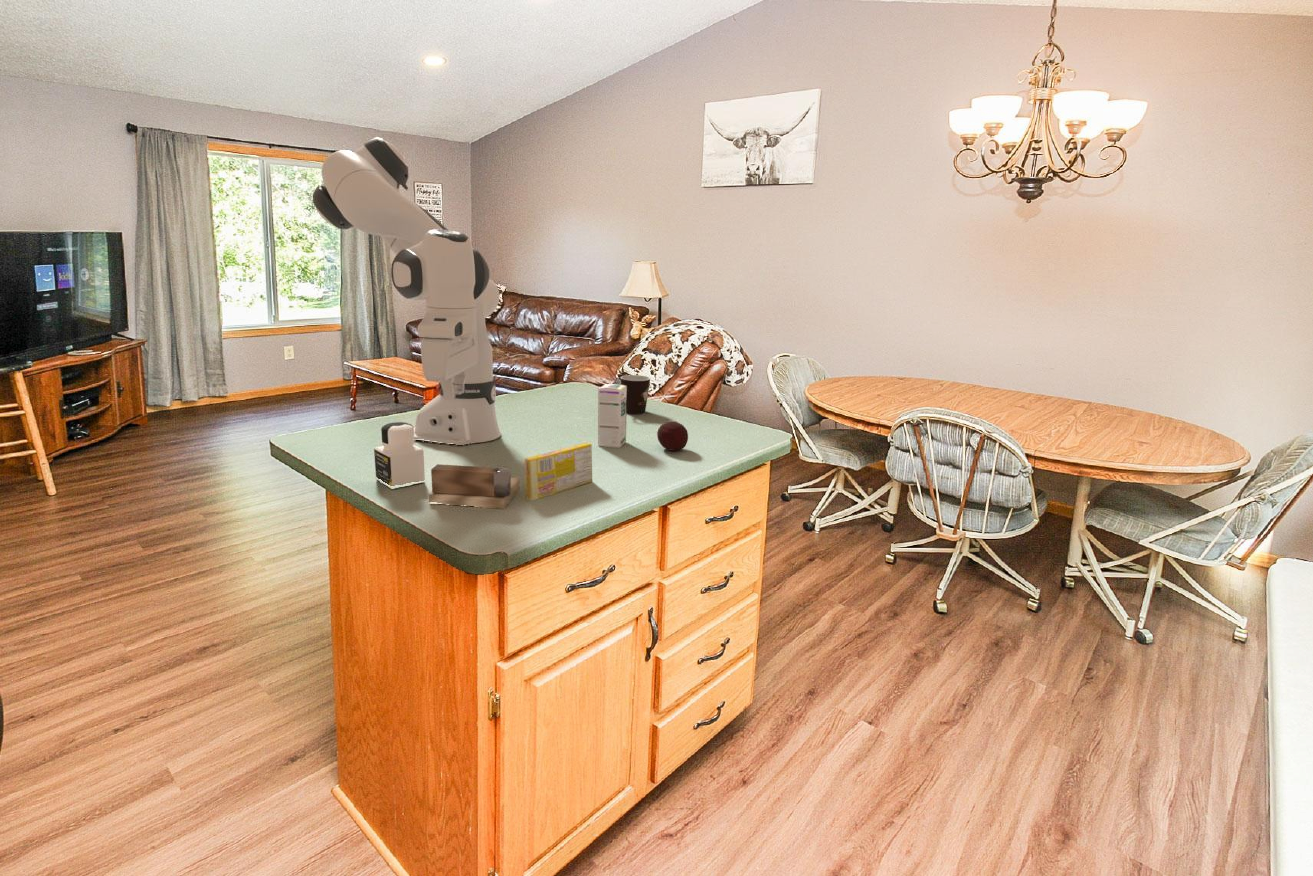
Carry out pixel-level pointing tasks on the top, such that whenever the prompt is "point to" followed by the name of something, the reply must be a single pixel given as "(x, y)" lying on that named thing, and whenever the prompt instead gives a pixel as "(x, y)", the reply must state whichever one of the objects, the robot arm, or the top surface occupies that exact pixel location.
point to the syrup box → (612, 415)
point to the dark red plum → (672, 436)
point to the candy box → (558, 470)
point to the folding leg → (471, 480)
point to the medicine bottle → (399, 455)
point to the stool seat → (476, 498)
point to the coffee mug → (636, 393)
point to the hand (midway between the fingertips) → (454, 396)
